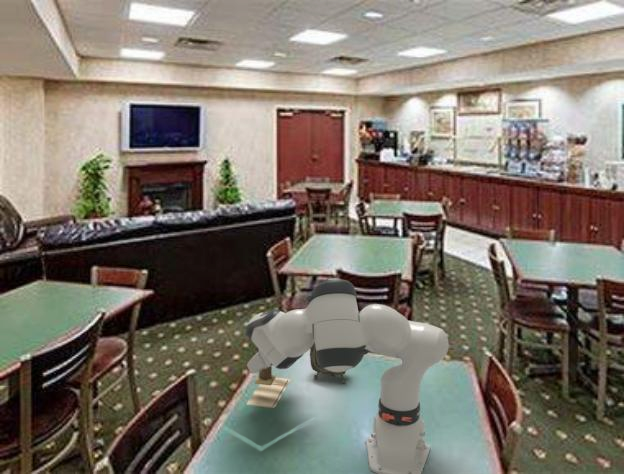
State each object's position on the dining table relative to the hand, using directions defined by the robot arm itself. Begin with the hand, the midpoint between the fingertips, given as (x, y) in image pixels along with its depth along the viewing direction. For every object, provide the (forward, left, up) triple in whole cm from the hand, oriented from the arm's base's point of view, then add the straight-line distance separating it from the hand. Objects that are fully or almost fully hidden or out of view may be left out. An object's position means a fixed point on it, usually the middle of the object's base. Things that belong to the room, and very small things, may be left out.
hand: (264, 367), depth 178 cm
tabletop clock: (+23, -19, -13) cm, 33 cm away
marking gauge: (0, -1, -5) cm, 5 cm away
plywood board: (+5, 0, -13) cm, 14 cm away
